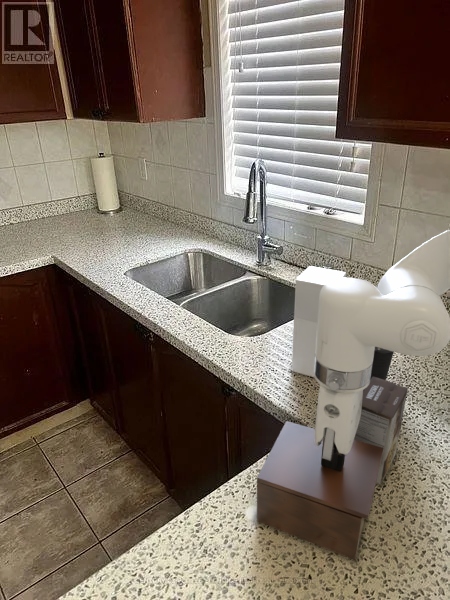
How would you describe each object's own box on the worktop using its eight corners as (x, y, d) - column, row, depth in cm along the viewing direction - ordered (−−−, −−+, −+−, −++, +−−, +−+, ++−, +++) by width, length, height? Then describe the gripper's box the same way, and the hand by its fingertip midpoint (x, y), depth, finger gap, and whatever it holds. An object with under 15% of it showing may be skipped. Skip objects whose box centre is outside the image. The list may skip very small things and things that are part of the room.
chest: (370, 493, 77) (377, 451, 72) (354, 563, 66) (361, 519, 62) (284, 464, 83) (286, 424, 79) (256, 524, 72) (256, 481, 68)
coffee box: (363, 441, 88) (372, 374, 80) (396, 455, 84) (409, 386, 77) (345, 472, 81) (354, 402, 74) (380, 488, 78) (393, 417, 70)
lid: (383, 451, 72) (383, 447, 72) (367, 519, 61) (368, 515, 61) (286, 424, 79) (286, 420, 78) (256, 481, 68) (256, 477, 68)
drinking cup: (382, 408, 96) (396, 328, 87) (348, 396, 100) (357, 318, 91) (392, 389, 102) (405, 312, 93) (359, 378, 106) (368, 303, 97)
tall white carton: (326, 383, 104) (334, 287, 93) (291, 373, 108) (295, 279, 97) (337, 364, 111) (346, 271, 100) (304, 355, 115) (309, 265, 104)
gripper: (359, 408, 53) (346, 512, 61) (380, 345, 65) (366, 440, 73) (299, 392, 56) (293, 493, 64) (328, 335, 68) (321, 427, 76)
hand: (332, 465), depth 69 cm, fingers closed
